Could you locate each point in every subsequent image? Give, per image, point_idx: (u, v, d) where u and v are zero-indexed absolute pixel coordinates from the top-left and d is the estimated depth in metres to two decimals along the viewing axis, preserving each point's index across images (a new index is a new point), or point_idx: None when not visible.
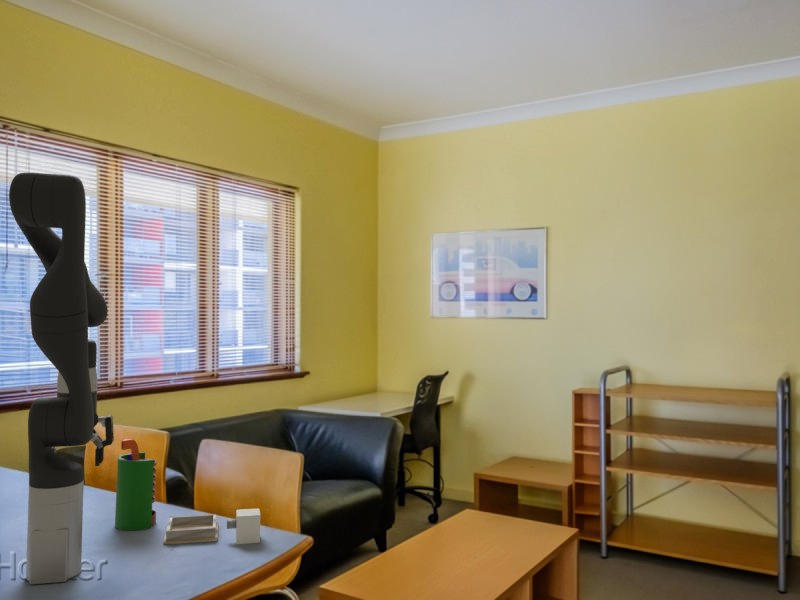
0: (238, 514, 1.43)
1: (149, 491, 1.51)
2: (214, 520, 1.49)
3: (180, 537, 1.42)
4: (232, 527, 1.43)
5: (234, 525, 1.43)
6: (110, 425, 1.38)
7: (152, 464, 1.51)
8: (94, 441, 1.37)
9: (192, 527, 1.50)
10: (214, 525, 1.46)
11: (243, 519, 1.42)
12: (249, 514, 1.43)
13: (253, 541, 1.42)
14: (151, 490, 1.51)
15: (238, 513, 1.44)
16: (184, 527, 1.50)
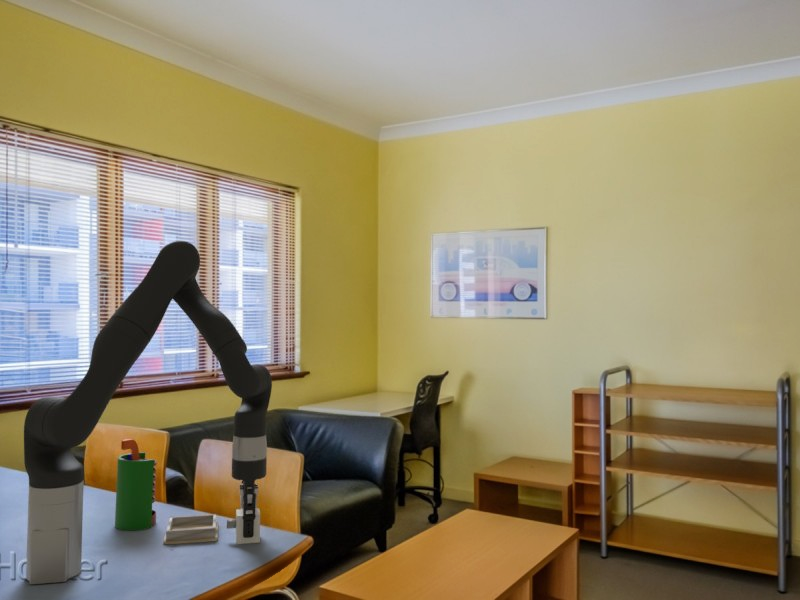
0: (238, 514, 1.43)
1: (149, 491, 1.51)
2: (214, 520, 1.49)
3: (180, 537, 1.42)
4: (232, 527, 1.43)
5: (234, 525, 1.43)
6: None
7: (152, 464, 1.51)
8: None
9: (192, 527, 1.50)
10: (214, 525, 1.46)
11: (242, 519, 1.42)
12: None
13: (253, 541, 1.42)
14: (151, 490, 1.51)
15: (238, 513, 1.44)
16: (184, 527, 1.50)
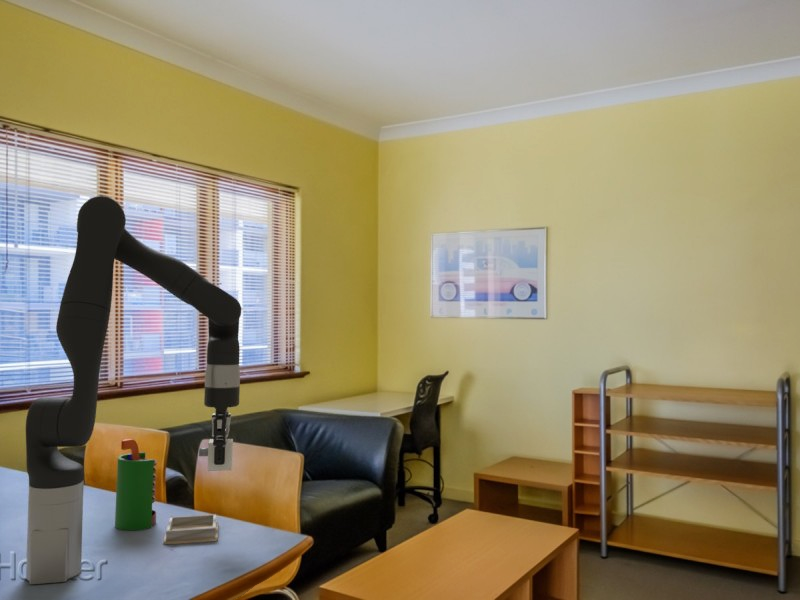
0: (210, 441, 1.44)
1: (149, 491, 1.51)
2: (214, 520, 1.49)
3: (180, 537, 1.42)
4: (204, 454, 1.44)
5: (206, 452, 1.44)
6: None
7: (152, 464, 1.51)
8: None
9: (192, 527, 1.50)
10: (214, 525, 1.46)
11: None
12: None
13: (224, 468, 1.43)
14: (151, 490, 1.51)
15: (210, 441, 1.44)
16: (184, 527, 1.50)
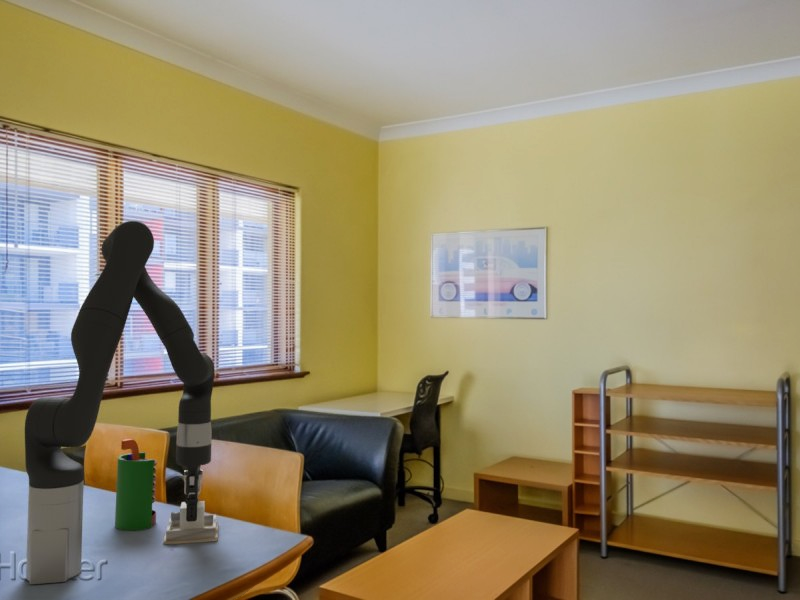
0: (182, 506, 1.46)
1: (149, 491, 1.51)
2: (214, 520, 1.49)
3: (180, 537, 1.42)
4: (176, 519, 1.46)
5: (178, 517, 1.46)
6: None
7: (152, 464, 1.51)
8: None
9: None
10: (214, 525, 1.46)
11: None
12: None
13: None
14: (151, 490, 1.51)
15: (182, 505, 1.46)
16: None
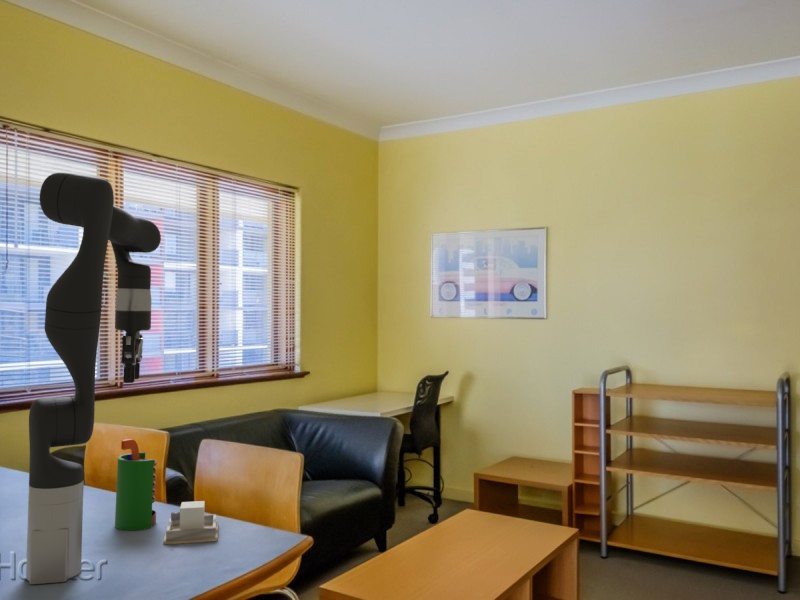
0: (182, 506, 1.46)
1: (149, 491, 1.51)
2: (214, 520, 1.49)
3: (180, 537, 1.42)
4: (176, 519, 1.46)
5: (178, 517, 1.46)
6: None
7: (152, 464, 1.51)
8: (140, 356, 1.52)
9: None
10: (214, 525, 1.46)
11: (186, 511, 1.45)
12: (192, 506, 1.46)
13: None
14: (151, 490, 1.51)
15: (182, 505, 1.46)
16: None
